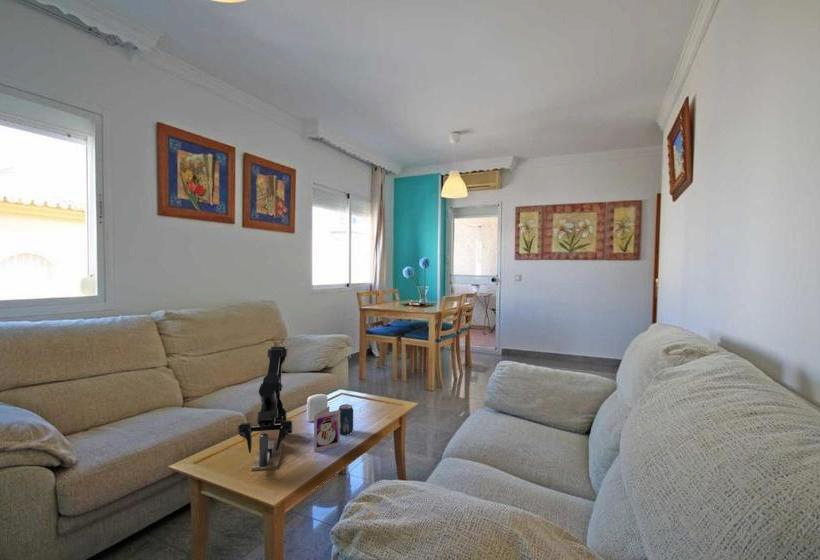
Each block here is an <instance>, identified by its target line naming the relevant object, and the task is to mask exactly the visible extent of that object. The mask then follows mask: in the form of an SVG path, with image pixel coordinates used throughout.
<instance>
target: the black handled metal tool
mask: <svg viewBox="0 0 820 560" xmlns="http://www.w3.org/2000/svg"><path fill="white" fill-rule="evenodd" d="M258 450H259V467H261V468H266V466H267V465H268V460H269V457H270V454H271V450H272V449H268V434H261V435H260V434H259V446H258Z"/></svg>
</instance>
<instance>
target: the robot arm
mask: <svg viewBox="0 0 820 560" xmlns="http://www.w3.org/2000/svg"><path fill="white" fill-rule="evenodd" d="M288 350H289V349H288V348H286V346H284V345H283V346H271V347H270V348H268V349H267V353H266V354H267V358H268V360H269V363H268V367H267V368H268V369H267V374H266V375H265V376H264V377H263V379H262V383H260V386H259V389H258V395H259V400H260V402H261V404H260V411H258V412H257V422H256V423H257V425H252V423H251V422H243V423H240V424H239V425H238V427H237V428H238V429H237V432H238V434H239V436H240V437H242V438H243V439H245V440H246V443H247V448H248V453H249V454H251V452H252V445H253V444H252V442H253V441H252V440H253V435H252V433H254V432H260V431H270V430H279V436H278V441H277V446H276V451H278V449H279V447H280V445H281V443H282V442H284V441H283V440H285V438H286V437H288V436H289V434H292V433H293V431H294V430H293V427H294V426H293V420H291V419H289V420H287V415H288V414H287V411H286V408H285V407H284V406H285V404H284V403H283V401H282V399H281V394H282V390H283V387H284V385H283V384H282V370H283V365H284V364H285V362H286V361H287V357H288V355H289V354H288ZM275 424H278V425H275Z"/></svg>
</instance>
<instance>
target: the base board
mask: <svg viewBox="0 0 820 560" xmlns="http://www.w3.org/2000/svg"><path fill="white" fill-rule="evenodd" d="M283 447H284V441H282V445H281V447H279V449H278V451H276V449H275V453H274V456H273V458H271V459H269V460H268V465H267V466H266V468H261V467H259V449H258V450H257V453H256V455H255V458H254V460H253V463H252V466H251V471H262V470H264V471H265V470H272V469H273V470H274V469H278V467H279V463H280V460H281V456H282V451H283Z"/></svg>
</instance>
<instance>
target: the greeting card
mask: <svg viewBox="0 0 820 560" xmlns="http://www.w3.org/2000/svg"><path fill="white" fill-rule="evenodd" d="M339 444H341V435H340V410H339V409H338V410H334V411H330V406H327V408H325V409H324V410H322V411H321V412H319V413H317V414H316V415H314V421H313V453H315V451H316V452H320V451H323V450H327V449H330V448H329V447H331V448H334V447H337V446H336V445H338V446H340V445H339ZM333 446H334V447H333ZM326 448H327V449H326ZM322 449H323V450H322ZM319 450H320V451H319Z"/></svg>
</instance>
